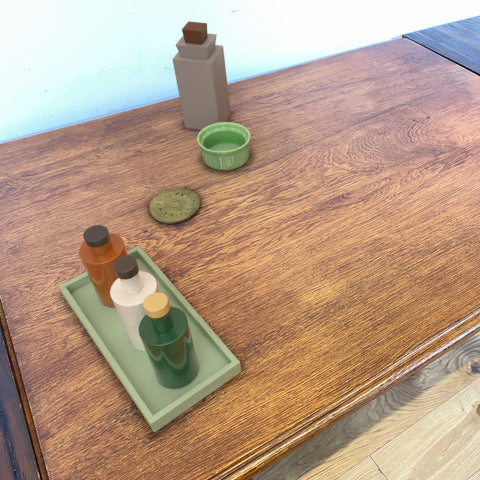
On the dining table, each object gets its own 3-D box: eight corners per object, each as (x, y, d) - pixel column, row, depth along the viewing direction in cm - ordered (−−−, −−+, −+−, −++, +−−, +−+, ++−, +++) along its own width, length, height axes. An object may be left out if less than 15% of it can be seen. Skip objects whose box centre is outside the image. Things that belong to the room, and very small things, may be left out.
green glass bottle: (147, 367, 60) (120, 299, 51) (185, 343, 62) (165, 274, 53) (169, 397, 57) (144, 331, 48) (207, 372, 60) (190, 303, 50)
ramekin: (262, 152, 91) (261, 131, 88) (231, 179, 85) (228, 158, 82) (222, 137, 94) (219, 116, 91) (189, 162, 88) (185, 140, 85)
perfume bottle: (220, 132, 95) (207, 36, 82) (185, 127, 96) (167, 32, 83) (230, 112, 100) (220, 20, 87) (197, 109, 100) (182, 16, 88)
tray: (63, 295, 68) (57, 285, 66) (142, 255, 73) (139, 245, 72) (154, 432, 55) (150, 424, 54) (241, 371, 61) (240, 362, 59)
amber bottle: (91, 290, 68) (64, 231, 60) (128, 271, 70) (106, 211, 62) (109, 314, 65) (83, 256, 57) (146, 294, 67) (126, 235, 60)
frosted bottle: (122, 332, 63) (91, 261, 54) (158, 310, 66) (135, 239, 56) (141, 359, 61) (113, 289, 51) (178, 336, 63) (158, 265, 54)
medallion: (186, 228, 77) (185, 225, 76) (139, 217, 78) (138, 213, 78) (209, 195, 82) (208, 192, 82) (164, 185, 84) (164, 182, 83)
